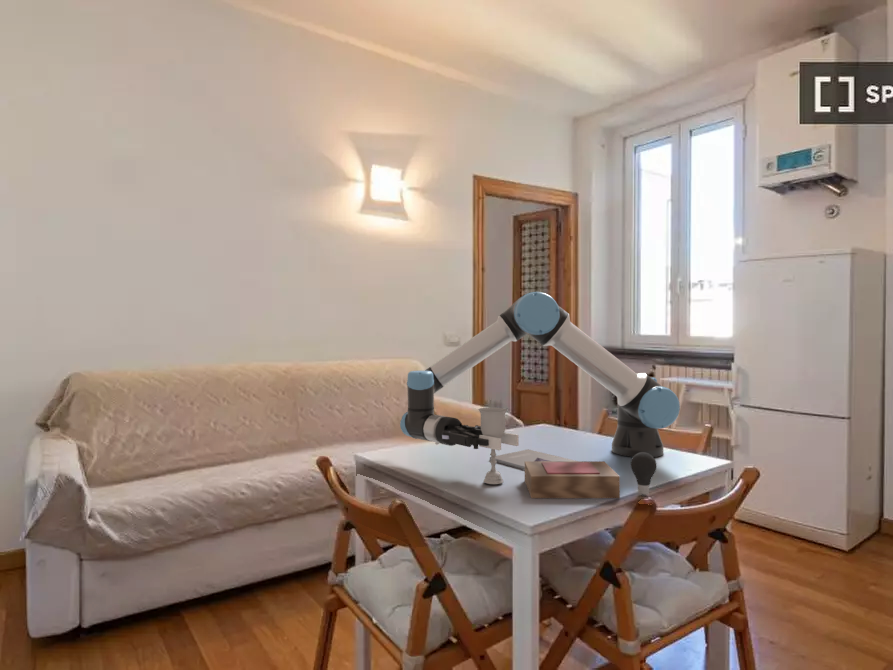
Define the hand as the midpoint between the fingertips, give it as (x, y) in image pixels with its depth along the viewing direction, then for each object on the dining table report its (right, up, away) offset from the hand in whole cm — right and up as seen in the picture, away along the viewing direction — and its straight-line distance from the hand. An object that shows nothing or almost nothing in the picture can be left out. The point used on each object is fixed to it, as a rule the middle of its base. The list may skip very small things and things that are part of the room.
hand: (508, 442), depth 136 cm
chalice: (-3, -11, +4) cm, 12 cm away
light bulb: (+30, -11, -7) cm, 33 cm away
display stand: (+14, -11, -2) cm, 18 cm away
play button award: (+10, -11, +25) cm, 29 cm away
